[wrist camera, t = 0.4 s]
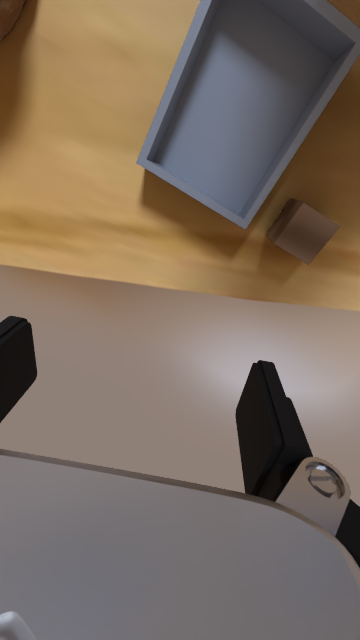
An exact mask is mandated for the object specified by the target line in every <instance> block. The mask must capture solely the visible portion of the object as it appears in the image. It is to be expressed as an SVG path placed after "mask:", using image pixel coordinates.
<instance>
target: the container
mask: <svg viewBox="0 0 360 640" xmlns="http://www.w3.org/2000/svg"><path fill="white" fill-rule="evenodd" d="M25 1H26V0H0V41H1V40H2V38H3V37H4V36H5V35H6V34H7V33H8V32H9V31H10V30H11V29H12V27H13V25H14V24H15V22H16V20H17V19H18V17H19V15H20V13H21V10H22V7H23V4H24V2H25Z"/></svg>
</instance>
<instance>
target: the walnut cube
mask: <svg viewBox="0 0 360 640" xmlns="http://www.w3.org/2000/svg"><path fill="white" fill-rule="evenodd" d="M339 228H340V226H339V225H337V224H336V223H334V222H333V221H331V220H330V219H328V218H327V217H325V216H324V215H322V214H321V213H319V212H318V211H316V210H315V209H313V208H312V207H310V206H309V205H307V204H306V203H304V202H301V201H298V200H295V199H292V198H291V199H290V200H289V202H288V203H287V205H286V206H285V207H284V209H283V210H282V212H281V213H280V215H279V216H278V217H277V219H276V220H275V222H274V223H273V225H272V226H271V228H270V229H269V230H268V232H267V233H266V236H267V237H268V238H269V239H270V240H271V241H272V242H273V243H274V244H275V245H277V246H278V247H280V248H282V249H283V250H285V251H286V252H288V253H290V254H291V255H293V256H295V257H296V258H298V259H299V260H301V261H303V262H304V263H306V264H308V265H309V264H310V263H311V261H312V260H313V259H314V258H315V257H316V255H317V254H318V253H319V252H320V251H321V249H322V248H323V247H324V246H325V244H326V243H327V242H328V241H329V240H330V238H331V237H332V236H333V235H334V234H335V232H336V231H337V230H338V229H339Z"/></svg>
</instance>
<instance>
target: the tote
mask: <svg viewBox="0 0 360 640" xmlns="http://www.w3.org/2000/svg"><path fill="white" fill-rule="evenodd" d="M359 55H360V28H359V27H358V26H357V25H356V24H354V23H353V22H352V21H351V20H350V19H348V18H347V17H346V16H345V15H344V14H342V13H341V12H340V11H339V10H338V9H336V8H335V7H334V6H333V5H332V4H330V3H329V2H328V1H327V0H201V1H200V3H199V6H198V8H197V11H196V13H195V16H194V19H193V21H192V24H191V26H190V29H189V31H188V34H187V36H186V39H185V41H184V44H183V46H182V49H181V51H180V54H179V56H178V59H177V61H176V64H175V66H174V69H173V71H172V74H171V76H170V79H169V81H168V84H167V86H166V89H165V92H164V94H163V97H162V99H161V102H160V104H159V107H158V109H157V112H156V114H155V117H154V119H153V122H152V124H151V127H150V129H149V132H148V134H147V137H146V139H145V142H144V144H143V147H142V149H141V152H140V154H139V157H138V160H137V162H136V163H137V164H139V165H140V166H142V167H144V168H145V169H147V170H149V171H150V172H152V173H153V174H155V175H157V176H158V177H160V178H162V179H163V180H165V181H167V182H168V183H170V184H171V185H173V186H175V187H176V188H178V189H180V190H181V191H183V192H184V193H186V194H188V195H189V196H191V197H193V198H194V199H196V200H198V201H199V202H201V203H202V204H204V205H206V206H207V207H209V208H211V209H212V210H214V211H216V212H217V213H219V214H220V215H222V216H224V217H225V218H227V219H229V220H230V221H232V222H233V223H235V224H237V225H238V226H240V227H242V228H243V229H246V228H247V226H248V225H249V223H250V222H251V220H252V219H253V217H254V216H255V214H256V213H257V211H258V210H259V208H260V206H261V205H262V203H263V202H264V200H265V199H266V197H267V196H268V194H269V193H270V191H271V190H272V188H273V187H274V185H275V183H276V182H277V180H278V179H279V177H280V176H281V174H282V173H283V171H284V170H285V168H286V167H287V165H288V164H289V162H290V160H291V159H292V157H293V156H294V154H295V153H296V151H297V150H298V148H299V147H300V145H301V144H302V142H303V141H304V139H305V138H306V136H307V134H308V133H309V131H310V130H311V128H312V127H313V125H314V124H315V122H316V121H317V119H318V118H319V116H320V115H321V113H322V111H323V110H324V108H325V107H326V105H327V104H328V102H329V101H330V99H331V98H332V96H333V95H334V93H335V92H336V90H337V88H338V87H339V85H340V84H341V82H342V81H343V79H344V78H345V76H346V75H347V73H348V72H349V70H350V69H351V67H352V66H353V64H354V62H355V61H356V59H357V58H358V56H359Z"/></svg>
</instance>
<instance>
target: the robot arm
mask: <svg viewBox="0 0 360 640" xmlns="http://www.w3.org/2000/svg"><path fill="white" fill-rule="evenodd" d="M36 377H37V367H36V360H35V352H34V343H33V336H32V328H31V324H30V323H29V322H28V321H27V319H25V318H20V317H15V316H9V317H7V318H6V319H5V320H3V321H2V322H0V423H1V421H2V420H3V419H4V418H5V416H6V415H7V414H8V413H9V412H10V410H11V409H12V408H13V407H14V406H15V404H16V403H17V402H18V400H19V399H20V398H21V397H22V396H23V395H24V393H25V392H26V391H27V390H28V388H29V387H30V386H31V385H32V384H33V382H34V381H35V379H36ZM236 423H237V431H238V439H239V447H240V454H241V462H242V470H243V478H244V486H245V493H241V492H236V491H231V490H226V489H221V488H216V487H211V486H206V485H201V484H196V483H191V482H186V481H180V480H175V479H169V478H164V477H158V476H152V475H147V474H141V473H136V472H130V471H125V470H119V469H114V468H108V467H102V466H96V465H91V464H85V463H79V462H74V461H68V460H62V459H57V458H51V457H45V456H40V455H34V454H28V453H21V452H16V451H10V450H4V449H0V640H360V507H359V506H358V505H357V504H355V503H354V502H353V501H352V500H351V499H350V494H351V491H350V487H349V484H348V482H347V480H346V479H345V477H344V476H343V475H342V473H341V472H340V471H339V470H338V469H337V468H336V467H334V466H333V465H332V464H331V463H329V462H327V461H326V460H323V459H320V458H318V457H313V455H312V452H311V450H310V447H309V444H308V442H307V439H306V437H305V434H304V431H303V429H302V426H301V424H300V421H299V418H298V416H297V413H296V410H295V408H294V405H293V403H292V401H291V399H290V398H288V397H286V395H285V392H284V390H283V387H282V384H281V382H280V379H279V376H278V373H277V370H276V368H275V365H274V363H272V362H267V361H262V360H259V361H258V362H257V363H253V365H252V367H251V370H250V373H249V376H248V379H247V381H246V384H245V386H244V389H243V392H242V395H241V397H240V400H239V403H238V406H237V409H236Z"/></svg>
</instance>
